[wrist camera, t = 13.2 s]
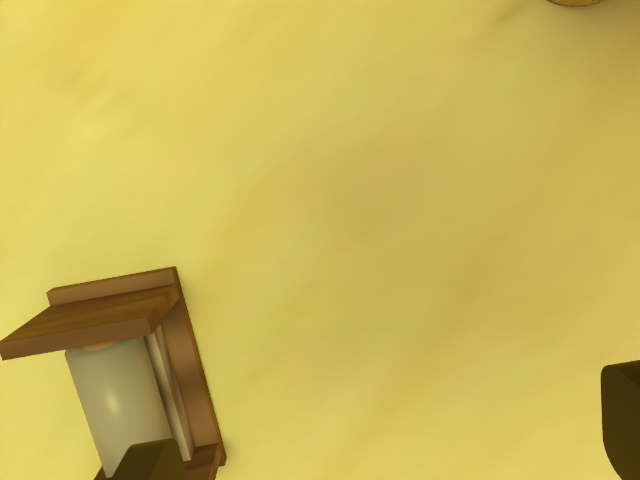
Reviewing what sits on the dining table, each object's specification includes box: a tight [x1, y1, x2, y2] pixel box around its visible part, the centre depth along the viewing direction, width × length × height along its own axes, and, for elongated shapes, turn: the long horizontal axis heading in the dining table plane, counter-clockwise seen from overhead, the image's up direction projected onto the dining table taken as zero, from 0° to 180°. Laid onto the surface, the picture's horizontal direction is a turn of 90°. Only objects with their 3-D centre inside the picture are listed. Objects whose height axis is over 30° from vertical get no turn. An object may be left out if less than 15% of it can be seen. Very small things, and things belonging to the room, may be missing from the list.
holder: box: [0, 267, 227, 480], centre depth 36 cm, size 18×10×8 cm, turn 10°
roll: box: [65, 336, 173, 478], centre depth 35 cm, size 11×5×5 cm, turn 10°
